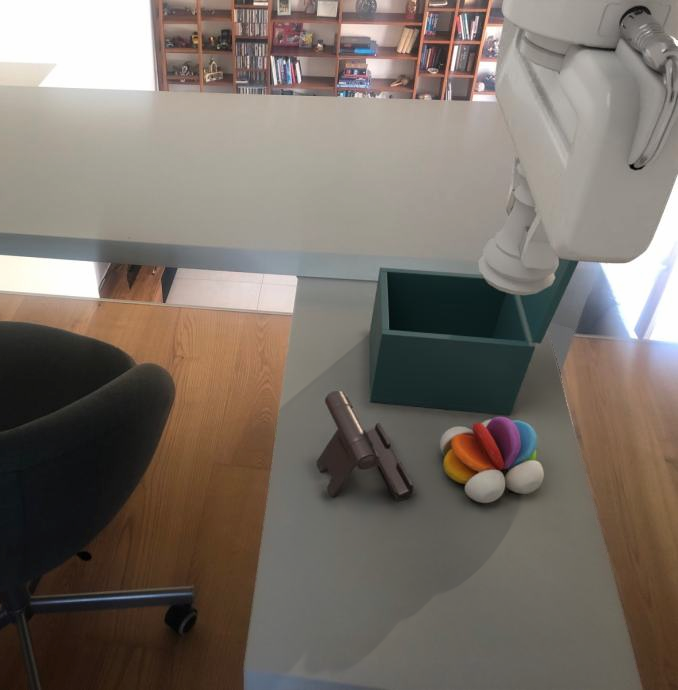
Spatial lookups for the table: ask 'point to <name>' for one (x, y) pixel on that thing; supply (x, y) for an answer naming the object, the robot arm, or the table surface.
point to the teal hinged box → (447, 342)
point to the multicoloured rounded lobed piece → (492, 458)
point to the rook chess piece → (514, 250)
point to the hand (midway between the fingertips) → (526, 238)
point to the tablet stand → (359, 450)
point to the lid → (547, 300)
